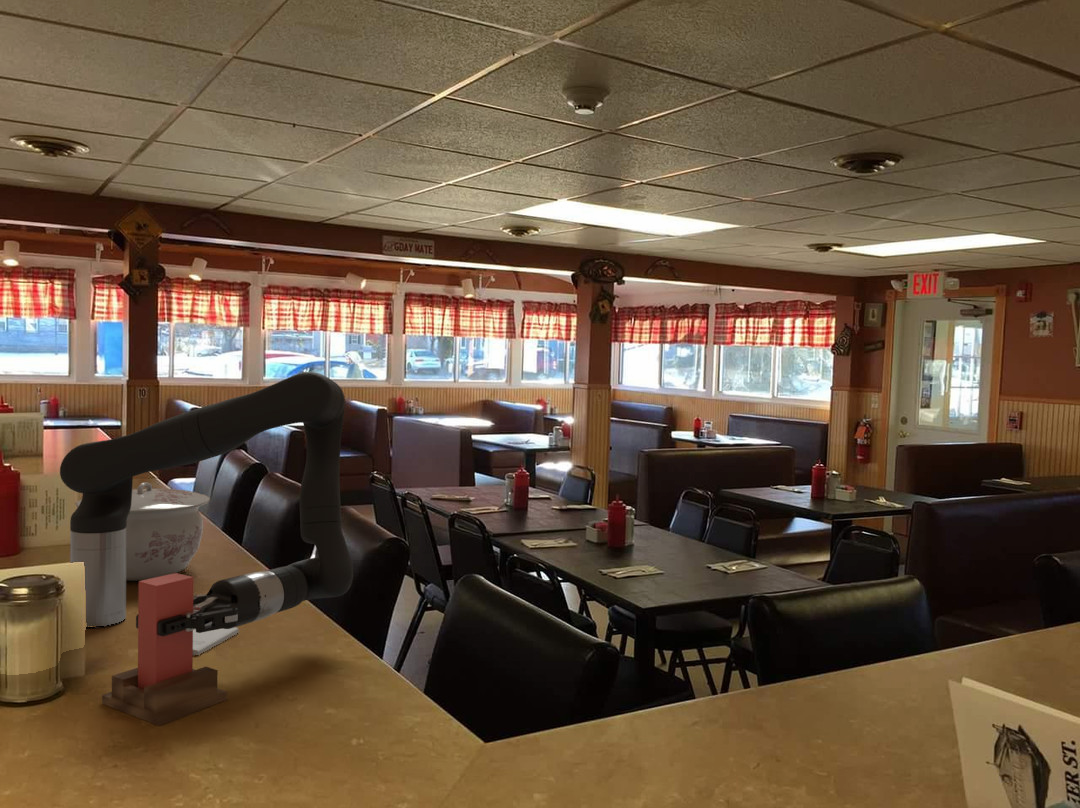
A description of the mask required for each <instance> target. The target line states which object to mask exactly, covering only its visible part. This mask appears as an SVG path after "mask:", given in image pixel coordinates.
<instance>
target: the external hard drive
mask: <svg viewBox="0 0 1080 808" xmlns="http://www.w3.org/2000/svg"><path fill="white" fill-rule="evenodd" d="M237 633H238V634H239V633H240V630H239V628H238V627H234V628H231V629H218V630H212V631H207V632H202V633H197V632H196V629H194V630H193V656H195V655H199V656H201V655H202V654H201V653H203V652H204V653H206V652H208V651H210V650H211V648H212V647H213V648H215V647H217V646H218V644H219V645H220V644H222V643H224V642H226V641H228V640H229V639H231V638H233V637H235V636H236V635H238V634H237ZM234 635H235V636H234ZM232 636H233V637H232ZM230 637H231V638H230ZM228 638H229V639H228ZM227 639H228V640H227ZM225 640H226V641H225ZM223 641H224V642H223ZM216 645H217V646H216ZM214 646H215V647H214ZM213 648H212V649H213ZM209 649H210V650H209ZM207 650H208V651H207ZM205 651H206V652H205ZM204 653H203V654H204ZM200 654H201V655H200Z"/></svg>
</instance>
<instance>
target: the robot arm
mask: <svg viewBox="0 0 1080 808" xmlns="http://www.w3.org/2000/svg"><path fill="white" fill-rule="evenodd" d="M345 407H346V397H345V394H344V392H343V389H342V388H341V386H340V385H339V384H338V383H337V382H335V381H333V380H332V379H331V378H330V377H327V376H325V375H324V374H322V373H320V372H317V371H315V372H314V371H303V372H300V373H297V374H294V375H291V376H289V377H287V378H285V379H283V380H281V381H278V382H275V383H273V384H272V385H271V384H270V385H269V386H267V387H263V388H262V389H260V390H257V391H254V392H251V393H247V394H244V395H240V396H236V397H233V398H229V399H226V400H222V401H218V402H216V403H213V404H208V405H204V406H201V407H199V408H194V409H192V410H189V411H185V412H183V413H180V414H177V415H175V416H172V417H169V418H166V419H164V420H162V421H159V422H156V423H153V424H152V425H150V426H147V427H145V428H143V429H141V430H138V431H136V432H133V433H130V434H127V435H123V436H120V437H115V438H112V439H111V438H110V439H106V440H99V441H93V442H86V443H82V444H80V445H77V446H75V447H73V448H72V449H71V450H70V451H68V453H66V454H65V456H64V458H63V459H62V461H61V464H60V467H59V476H60V478H61V481H62V482H63V483H64V485H65V486H66V487H67V488H68V489H70V490H72V491H73V492H76V493H80V494H82V497H81V499H82V500H81V503H80V505H79V507H76V509H75V510H74V512H73V513H72V514H71V516H70V523H69V524H70V525H69V526H70V527H69V528H70V532H69V533H70V537H69V539H70V542H69V543H70V550H69V551H70V556H69V557H70V558H69V560H70V563H73V562H84V566H85V590H86V623H87V627H88V626H89V627H90V626H104V627H108V626H107V625H109V626H112V625H111V624H114V625H116V624H115V623H117V624H120V623H122V622H123V620H124V619H125V620H126V617H127V581H126V532H127V527H126V526H127V517H128V514H129V512H130V509H131V502H132V489H133V481H134V480H133V478H134V477H136V476H138V475H141V474H146V473H150V472H155V471H163V470H167V469H171V468H177V467H182V466H186V465H187V466H188V465H191V464H195V463H200V462H202V461H206V460H209V459H211V458H216V457H218V456H222V455H225V454H227V453H229V452H231V451H234V450H235V449H237V448H239V447H240V446H242V445H244V444H245V443H246V442H248V441H249V440H251V439H252V438H254V437H255V436H257V435H259V434H260V433H263V432H266V431H269V430H271V429H276V428H279V427H280V428H281V427H283V426H289V425H293V424H300V423H303V427H304V433H305V441H306V457H305V458H306V459H305V466H304V470H303V476H302V480H301V484H300V485H301V486H300V489H299V523H300V524H299V525H300V527H299V528H300V529H299V530H300V536H301V539H302V541H303V542H304V543H306V544H312V545H314V546H315V548H316V550H317V554H318V557H312V558H306V559H303V560H302V559H301V560H300V561H296V562H292V563H291V564H288V565H286V566H279V567H276V568H272V569H268V570H262V571H254V572H249V573H245V574H241V575H236V576H232V577H228V578H224V579H220V580H217V581H216V582H214V583H213V584H212V585H211V586H210V589H209V590H208V591H207V593H201V594H195V595H193V610H191V611H189V612H186V613H184V615H181V614H180V615H176V616H173V617H169V618H166V619H162V620H159V621H158V623H157V634H158V635H159V636H166V635H170V634H173V633H176V632H180V631H183V630H184V631H187V632H189V631H192V630H194V629H196V632H197V633H202V632H207V631H212V630H218V629H231V628H234V627H236V628H238V627H239V626H243V625H247V624H249V623H253V622H257V621H259V620H263V619H266V618H268V617H271V616H272V615H274V614H277V613H280V612H283V611H287V610H290V609H292V608H295V607H297V606H299V605H300V604H302V603H303V602H304V601H310V600H314V599H315V600H316V599H317V600H318V599H328V598H338V597H341V596H343V595H344V594H346V593H347V592H348V591H349V589H350V588H351V585H352V584H353V579H354V568H353V567H354V566H353V562H352V559H351V556H350V552H349V549H348V546H347V543H346V539H345V536H344V533H343V530H342V512H341V509H342V507H341V490H340V489H341V485H340V468H341V466H340V461H341V447H342V446H341V445H342V444H341V443H342V433H343V427H344V418H345ZM70 563H69V564H70ZM125 620H124V621H125ZM121 621H122V622H121ZM119 622H120V623H119ZM135 627H136V629H137V630H138V614H136V616H135Z"/></svg>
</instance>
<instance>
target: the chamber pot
mask: <svg viewBox="0 0 1080 808" xmlns="http://www.w3.org/2000/svg"><path fill="white" fill-rule="evenodd" d="M81 500H82V498H81V499H79V500H77V501H76V502H75V503H74V504H75V506H76V508H78V507H79V505H80V503H81ZM210 500H211V498H210V497H209V496H208V495H206V494H203V493H199V492H195V491H191V490H184V489H173V488H153V485H152V483H151V482H147V481H144V482H141V483H140V484H139V485H138V486H137V488H132V502H131V509H130V512H129V514H128V517H127V526H126V527H127V532H126V582H127V581H129V582H139V581H142V580H147V579H151V578H155V577H160V576H164V575H169V574H173V573H178V574H179V573H180V572H182V571H183V570H185V569H186V568H187V567H188V566H189V564H190V562H191V561H192V559H193V558H194V556H195V555H196V553H197V551H198V550H199V548H200V546H201V540H202V537H203V531H204V518H203V516H202V515H201V513H200V512H199V507H201V506H204V505H206V504H208V503H209V502H210Z"/></svg>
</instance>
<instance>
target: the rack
mask: <svg viewBox="0 0 1080 808" xmlns="http://www.w3.org/2000/svg"><path fill="white" fill-rule="evenodd" d="M218 672H219V671H218V669H215V668H212V667H209V666H203V667H200V668H197V669H194V668H193V669H192V671H191V672H188V673H185V674H182V675H179V676H176V677H173V678H170V679H167V680H164V681H162V682H159V683H156V684H153V685H150V686H147V687H144V690H143V689H140V688H138V667H135V668H131V669H129V670H125V671H123V672H120V673H116V674H113V675H111V692H107V693H104V694H102V696H101V704H102V705H105V706H107V707H110V708H113V709H115V710H117V711H120V712H123V713H125V714H128V715H130V716H133V717H136V718H138V719H141V720H143V721H145V722H148V723H151V724H153V725H156V726H159V727H161V726H163V725H166V724H168V723H171V722H173V721H176V720H178V719H181V718H184V717H186V716H189V715H192V714H194V713H197V712H199V711H201V710H204V709H206V708H209V707H212V706H214V705H218V704H219V702H220V703H222V702H225V701H227V700H228V691H226V690H223V689H220V688H218Z"/></svg>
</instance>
